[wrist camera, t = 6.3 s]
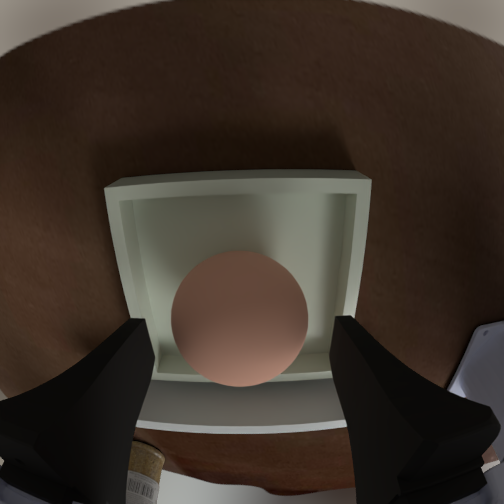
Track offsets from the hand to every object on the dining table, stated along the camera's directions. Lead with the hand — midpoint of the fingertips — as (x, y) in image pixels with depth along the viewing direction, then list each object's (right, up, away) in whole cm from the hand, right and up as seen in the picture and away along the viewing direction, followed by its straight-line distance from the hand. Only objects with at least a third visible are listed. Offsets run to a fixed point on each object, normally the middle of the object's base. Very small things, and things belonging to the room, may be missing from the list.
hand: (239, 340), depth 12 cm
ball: (0, +1, +1) cm, 1 cm away
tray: (0, +2, +4) cm, 5 cm away
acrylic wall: (0, -5, +7) cm, 9 cm away
